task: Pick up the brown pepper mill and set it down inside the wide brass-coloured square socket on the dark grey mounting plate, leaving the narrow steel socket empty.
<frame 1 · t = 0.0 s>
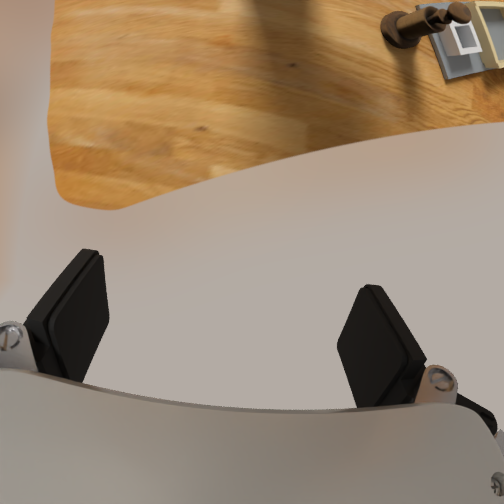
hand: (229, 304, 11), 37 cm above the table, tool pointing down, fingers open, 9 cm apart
brown pepper mill: (397, 31, 35), on the table
socket board: (473, 35, 33), on the table
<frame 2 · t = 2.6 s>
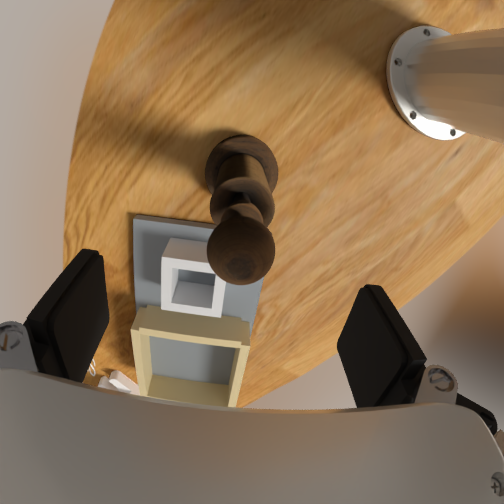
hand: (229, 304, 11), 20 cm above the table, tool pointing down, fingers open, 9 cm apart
cable organizer: (131, 390, 44), on the table
brown pepper mill: (241, 168, 29), on the table
socket board: (194, 315, 36), on the table
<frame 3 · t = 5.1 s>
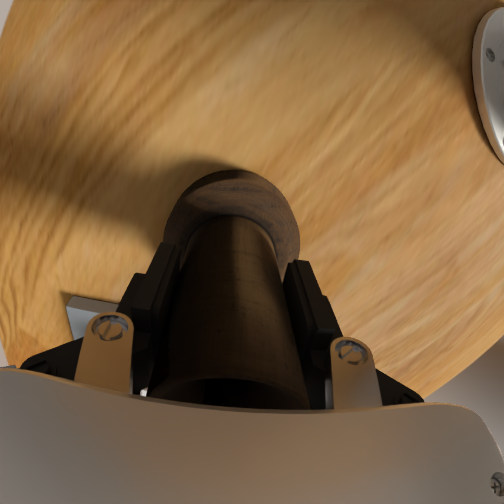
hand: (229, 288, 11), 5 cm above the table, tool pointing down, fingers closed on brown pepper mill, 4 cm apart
brown pepper mill: (232, 229, 16), on the table, touching gripper
socket board: (173, 413, 24), on the table
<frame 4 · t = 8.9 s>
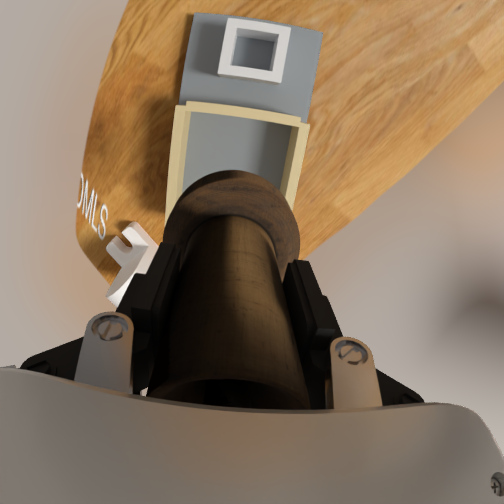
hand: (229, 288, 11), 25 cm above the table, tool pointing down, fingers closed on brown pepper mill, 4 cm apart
cable organizer: (146, 257, 40), on the table
brown pepper mill: (232, 229, 16), point 20 cm above the table, touching gripper
socket board: (241, 119, 32), on the table
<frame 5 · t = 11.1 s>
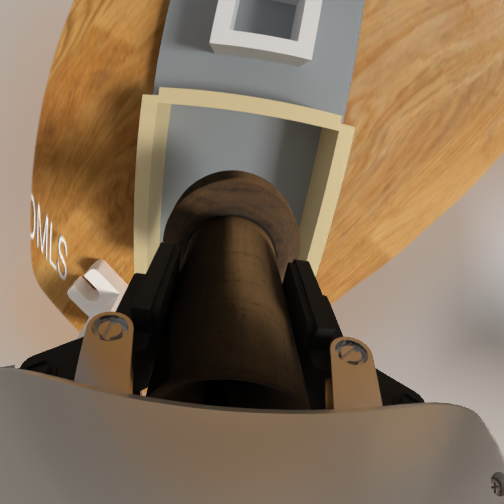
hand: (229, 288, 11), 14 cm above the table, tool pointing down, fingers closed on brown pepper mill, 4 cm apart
cable organizer: (120, 303, 29), on the table
brown pepper mill: (232, 230, 16), point 9 cm above the table, touching gripper
socket board: (246, 117, 21), on the table
when the fingers open (8 cm above the table, at t = 13.0 s): brown pepper mill drops 2 cm, resting on socket board.
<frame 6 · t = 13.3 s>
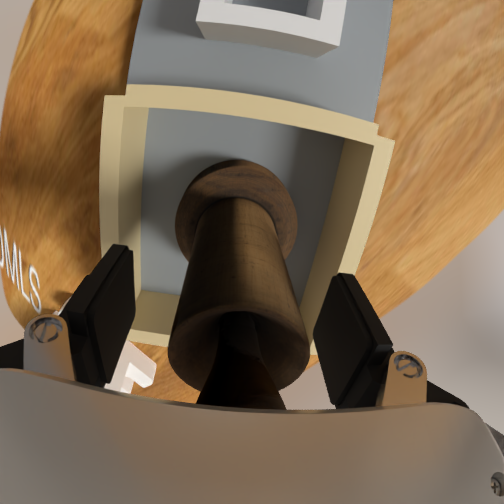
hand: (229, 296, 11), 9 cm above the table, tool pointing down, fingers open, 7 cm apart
cable organizer: (102, 341, 24), on the table
brown pepper mill: (236, 214, 18), point 1 cm above the table, touching socket board
socket board: (246, 122, 17), on the table
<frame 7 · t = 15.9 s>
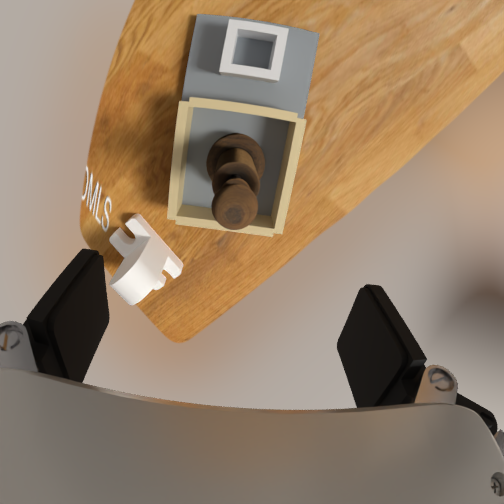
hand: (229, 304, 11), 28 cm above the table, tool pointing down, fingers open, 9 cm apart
cable organizer: (148, 248, 41), on the table
brown pepper mill: (235, 160, 35), point 1 cm above the table, touching socket board
socket board: (241, 115, 33), on the table
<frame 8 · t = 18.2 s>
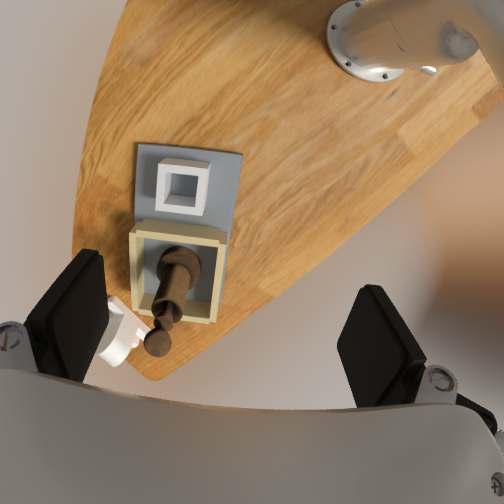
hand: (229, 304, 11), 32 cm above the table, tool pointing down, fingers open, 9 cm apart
cable organizer: (124, 318, 52), on the table
brown pepper mill: (180, 264, 45), point 1 cm above the table, touching socket board
socket board: (182, 229, 44), on the table
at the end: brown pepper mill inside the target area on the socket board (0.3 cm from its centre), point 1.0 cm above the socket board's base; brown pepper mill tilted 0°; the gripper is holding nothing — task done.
